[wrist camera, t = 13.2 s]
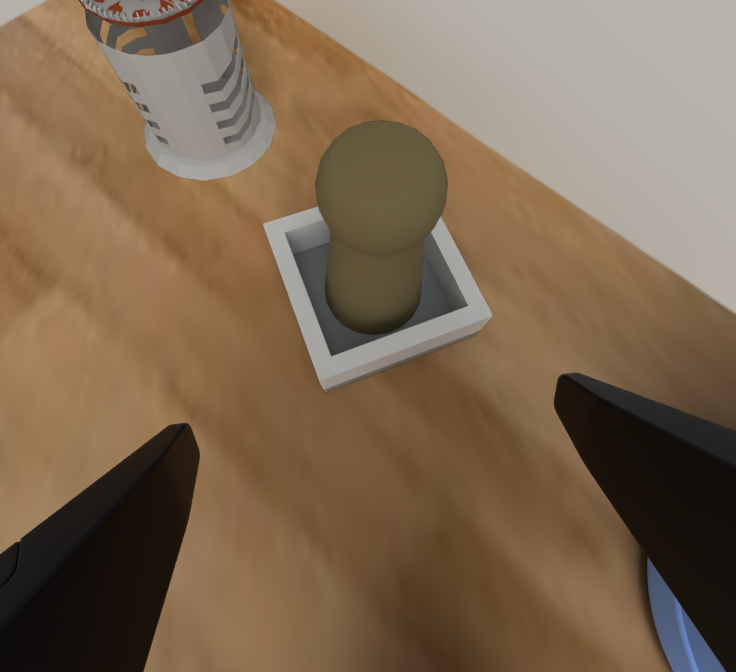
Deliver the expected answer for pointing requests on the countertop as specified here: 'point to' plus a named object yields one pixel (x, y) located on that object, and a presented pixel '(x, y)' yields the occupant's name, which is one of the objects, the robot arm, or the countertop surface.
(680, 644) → the water jug
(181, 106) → the french press
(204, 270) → the countertop surface
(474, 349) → the countertop surface
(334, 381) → the grey square open box
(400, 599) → the countertop surface
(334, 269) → the cork
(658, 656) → the countertop surface
